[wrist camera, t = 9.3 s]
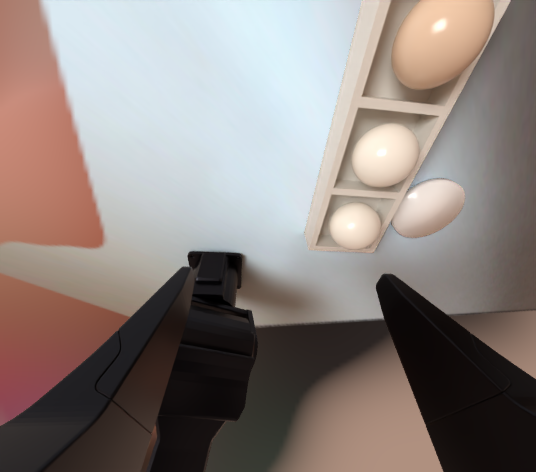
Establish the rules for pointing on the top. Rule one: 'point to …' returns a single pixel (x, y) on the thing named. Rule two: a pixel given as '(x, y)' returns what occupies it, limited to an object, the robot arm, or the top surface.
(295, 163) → the top surface
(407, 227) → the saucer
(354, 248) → the cream egg
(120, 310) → the top surface
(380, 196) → the carton
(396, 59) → the brown egg
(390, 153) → the cream egg
